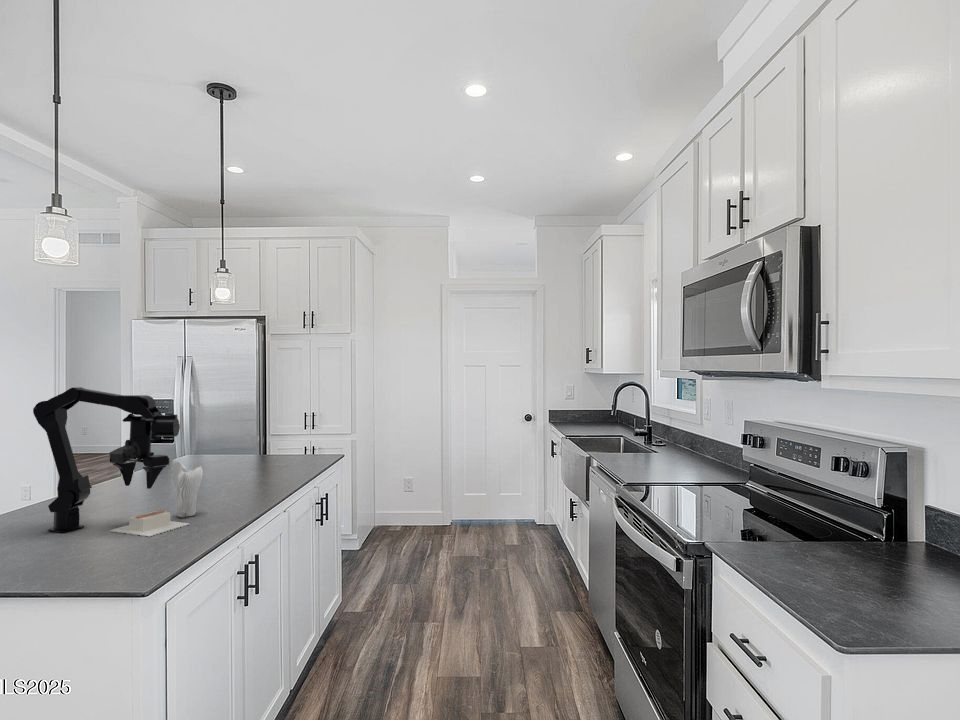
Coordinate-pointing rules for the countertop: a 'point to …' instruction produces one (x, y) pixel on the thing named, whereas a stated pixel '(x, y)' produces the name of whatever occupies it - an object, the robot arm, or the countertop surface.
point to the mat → (150, 532)
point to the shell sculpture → (186, 488)
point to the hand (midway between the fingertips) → (138, 487)
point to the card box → (149, 521)
